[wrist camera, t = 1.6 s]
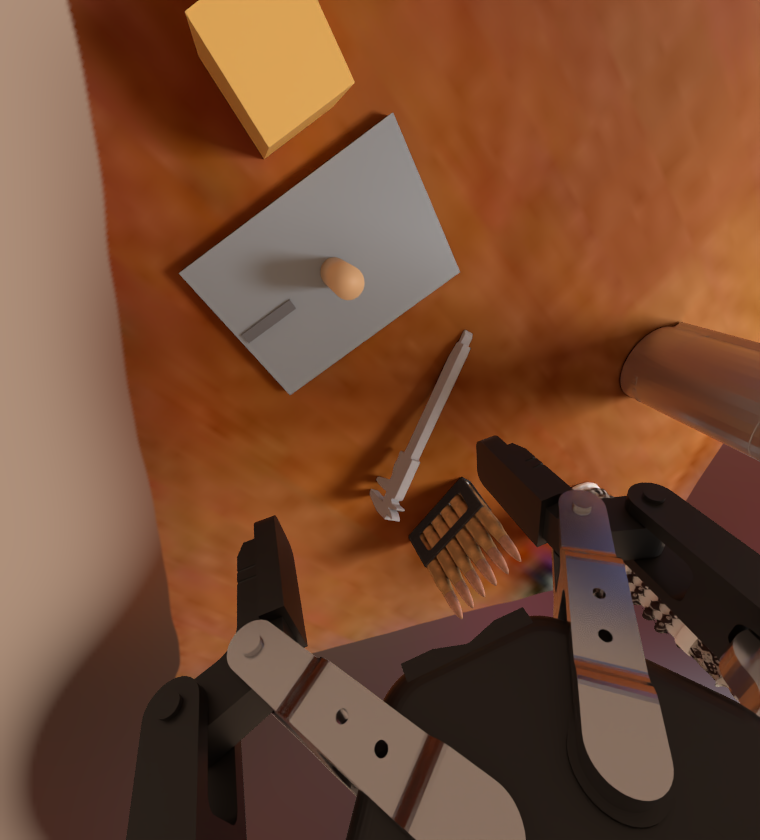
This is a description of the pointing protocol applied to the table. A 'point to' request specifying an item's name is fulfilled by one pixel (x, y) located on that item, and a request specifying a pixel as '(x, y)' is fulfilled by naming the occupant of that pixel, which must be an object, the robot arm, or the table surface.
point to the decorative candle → (665, 612)
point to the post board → (320, 227)
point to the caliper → (420, 436)
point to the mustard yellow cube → (270, 63)
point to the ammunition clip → (461, 543)
